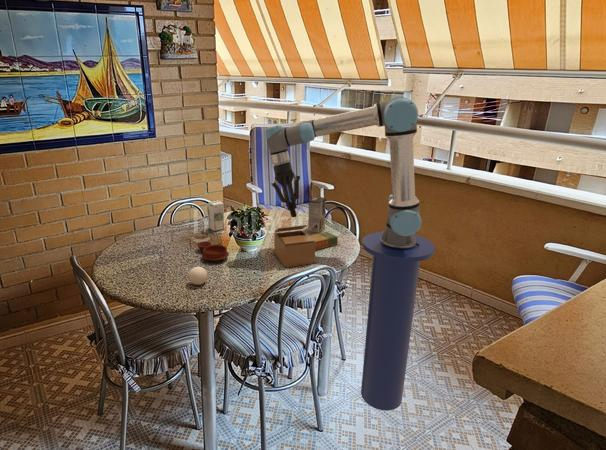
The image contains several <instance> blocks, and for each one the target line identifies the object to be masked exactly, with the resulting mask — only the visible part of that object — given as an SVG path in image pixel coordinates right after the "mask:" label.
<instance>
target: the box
mask: <svg viewBox="0 0 606 450" xmlns="http://www.w3.org/2000/svg"><path fill="white" fill-rule="evenodd" d="M273 237H274V239H273V240H274V242H273V243H274V245H273V247H274V250H273V253H274V255H275V256H276V258H277V259H278V260H279V262H281V264H282V265H283V267H284V268H289V267H296V266H304V265H312V264H315V263H316V261H315V260H316V250H315V242H314V241H315V240H314V239H313V238H312V237H311V235H310V234H307V233H306V232H305V231H304V229H300V230H291V231H282V232H274V236H273Z"/></svg>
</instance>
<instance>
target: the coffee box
mask: <svg viewBox="0 0 606 450" xmlns="http://www.w3.org/2000/svg"><path fill="white" fill-rule="evenodd" d="M326 201H327V198H326V197H321V196H315V195H314V196H312V198H311V199H309V200H308V216H307V217H308V218H307V219H308V220H307V225H308V226H307V232H311V233H316V234H319V233H322V231H323V230H324V229H325V227H326V204H327V203H326Z"/></svg>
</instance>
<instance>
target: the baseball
mask: <svg viewBox="0 0 606 450" xmlns="http://www.w3.org/2000/svg"><path fill="white" fill-rule="evenodd" d="M208 276H209V274H208V271H207V270H206V269H205V268H204V267H202V266H195V267H192V268H191V269H190V270H189V272H188V279H189V282H190V283H191V284H192V285H196V286H199V285H203V284H204V283H205V282H206V281H207V279H208Z"/></svg>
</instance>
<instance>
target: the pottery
mask: <svg viewBox="0 0 606 450" xmlns="http://www.w3.org/2000/svg"><path fill="white" fill-rule="evenodd" d="M196 246H197V247H198V249H199V250H200V251H201V252H202V253H201V257H202V258H203V259H204V260H207V261H210V262H215V263H217V262H220V261H222V260H224V259H226V258H228V257H229V255H230V254H229V251H228V249H227V248H228V247H226V246H224V245H221V244H213V245H212V243H211V241H200V242H198V243H197V244H196Z"/></svg>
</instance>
